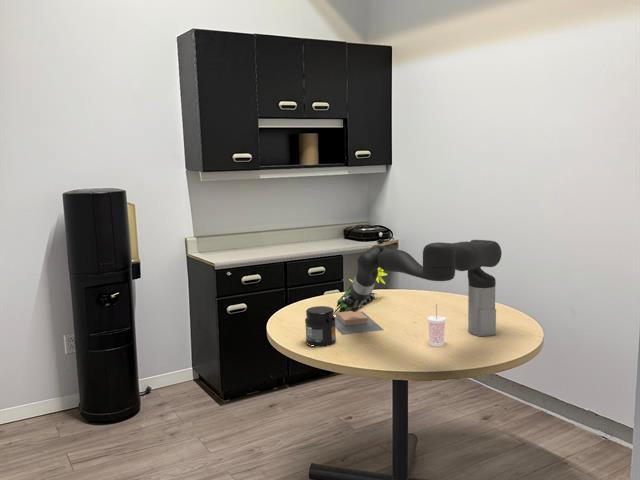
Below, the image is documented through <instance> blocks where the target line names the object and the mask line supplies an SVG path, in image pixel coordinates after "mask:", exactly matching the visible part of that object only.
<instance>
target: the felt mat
mask: <svg viewBox="0 0 640 480" xmlns="http://www.w3.org/2000/svg"><path fill="white" fill-rule="evenodd" d="M360 312H361V313H362V314H364V315H365V316H366V317H367V318H368V324H366V325H357V326H347V327H345V326H344V325H343V324H342V323H341V322H340V321H339V320H338V319H337V313H334V314H335V315H336V317H335V319H336V321H335V330H337V331H338V332H339V333H340V335H342V336H343V335H353V334H361V333H362V334H363V333H370V332H378V331H379V332H380V331H385V329H384V328H383V327H381V326H380V325H379V324H378V323H376V321H374V319H372V318H371V317H370V316H369V315H368V314H367V313H365V312H364V311H361V310H360Z"/></svg>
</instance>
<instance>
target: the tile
mask: <svg viewBox="0 0 640 480" xmlns="http://www.w3.org/2000/svg"><path fill="white" fill-rule="evenodd" d="M336 314H337V319H338V320H339V321H340V322H341V323H342V324H343V325H344V326H345V327H347V326H357V325H366V324H368V318H367V317H366V316H365V315H364V314H362V313H361V310H357V312H353V311H351V310H350V311H349V310H348V311H347V312H339V311H338V312H337V311H336Z"/></svg>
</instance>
